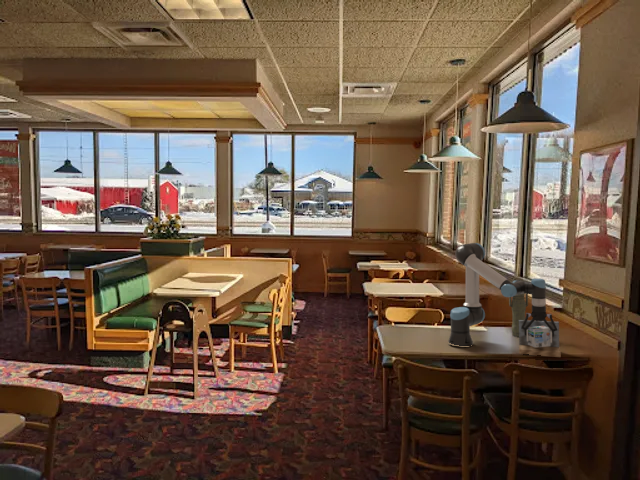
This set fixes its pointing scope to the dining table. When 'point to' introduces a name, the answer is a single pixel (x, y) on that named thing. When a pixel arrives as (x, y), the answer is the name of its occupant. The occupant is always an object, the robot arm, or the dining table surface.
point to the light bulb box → (539, 336)
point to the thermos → (518, 311)
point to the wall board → (543, 351)
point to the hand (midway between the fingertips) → (539, 341)
